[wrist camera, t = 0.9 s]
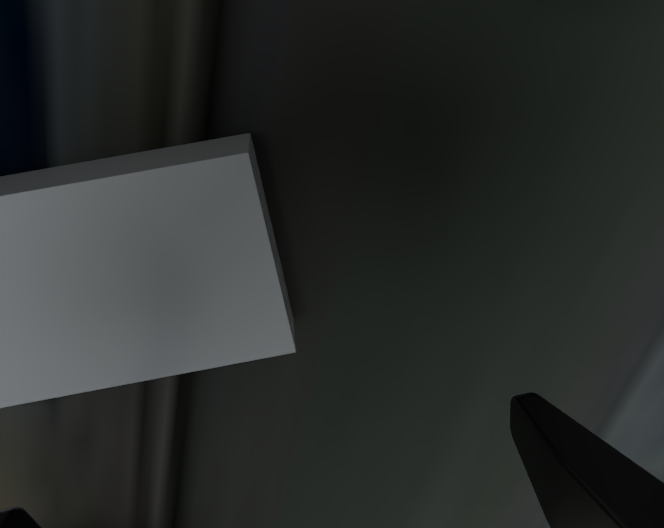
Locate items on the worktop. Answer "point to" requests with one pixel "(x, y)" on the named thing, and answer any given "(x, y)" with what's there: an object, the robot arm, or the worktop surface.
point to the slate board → (137, 270)
